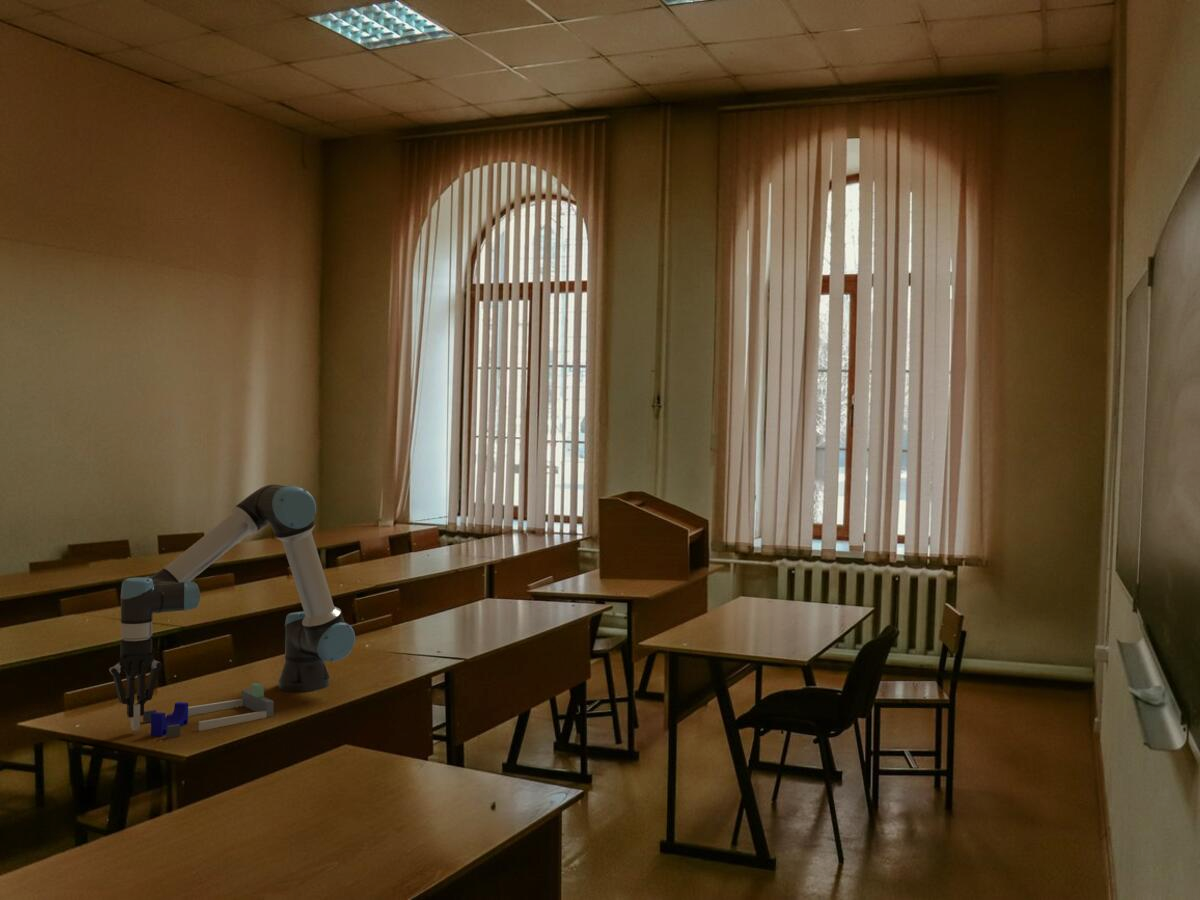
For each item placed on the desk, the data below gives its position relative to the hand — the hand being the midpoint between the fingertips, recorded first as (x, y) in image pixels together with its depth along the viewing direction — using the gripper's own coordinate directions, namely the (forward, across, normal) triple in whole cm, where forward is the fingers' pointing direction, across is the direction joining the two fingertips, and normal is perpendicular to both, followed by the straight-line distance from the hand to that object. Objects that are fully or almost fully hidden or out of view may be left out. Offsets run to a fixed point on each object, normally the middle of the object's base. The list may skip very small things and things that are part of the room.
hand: (135, 728), depth 266 cm
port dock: (+1, -22, 0) cm, 23 cm away
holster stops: (+1, -6, 0) cm, 7 cm away
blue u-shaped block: (+2, -8, +1) cm, 8 cm away
